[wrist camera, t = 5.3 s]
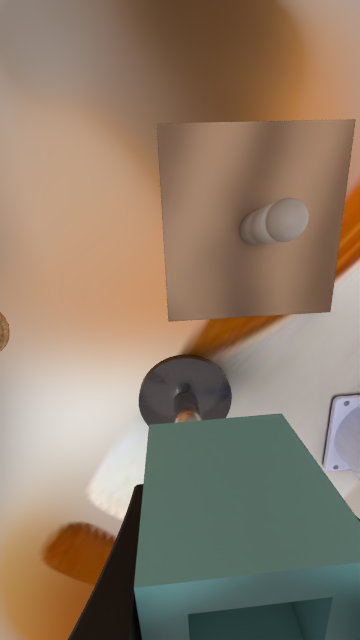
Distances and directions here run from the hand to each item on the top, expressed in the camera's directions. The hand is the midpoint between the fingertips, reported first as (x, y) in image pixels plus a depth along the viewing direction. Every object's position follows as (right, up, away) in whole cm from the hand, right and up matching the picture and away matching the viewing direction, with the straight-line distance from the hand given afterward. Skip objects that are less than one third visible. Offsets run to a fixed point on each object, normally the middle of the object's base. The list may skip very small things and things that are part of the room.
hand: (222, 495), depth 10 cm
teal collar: (0, 0, +1) cm, 1 cm away
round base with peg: (-1, +1, +11) cm, 11 cm away
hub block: (+3, +13, +7) cm, 16 cm away
